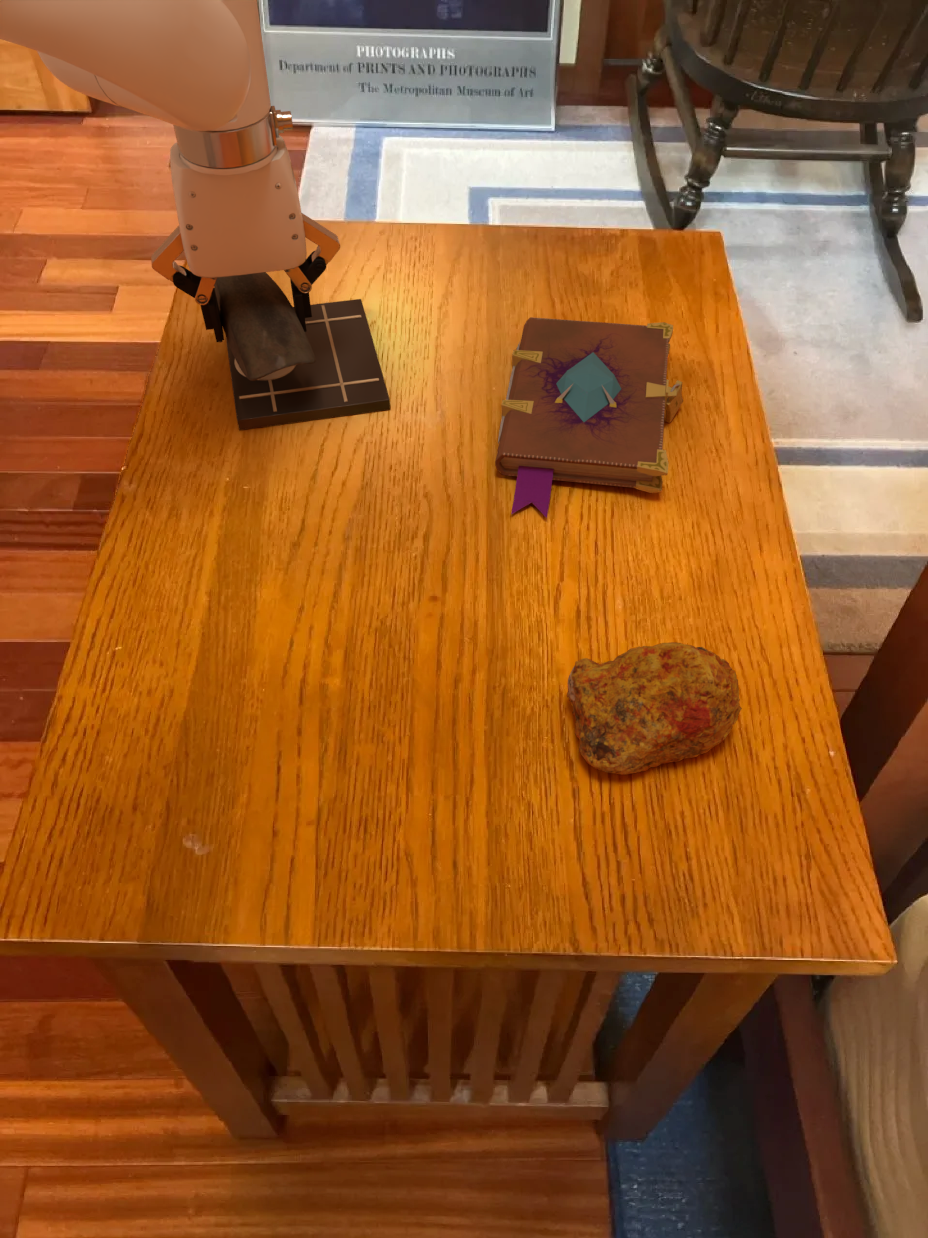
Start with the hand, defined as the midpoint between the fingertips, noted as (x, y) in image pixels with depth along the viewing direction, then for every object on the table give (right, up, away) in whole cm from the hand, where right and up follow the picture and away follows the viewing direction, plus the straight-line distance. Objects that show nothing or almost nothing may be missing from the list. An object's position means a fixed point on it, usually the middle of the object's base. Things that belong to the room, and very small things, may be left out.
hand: (260, 326), depth 86 cm
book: (+31, -10, 0) cm, 32 cm away
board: (+3, -2, +5) cm, 6 cm away
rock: (+32, -35, -18) cm, 51 cm away
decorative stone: (0, -1, +1) cm, 1 cm away
